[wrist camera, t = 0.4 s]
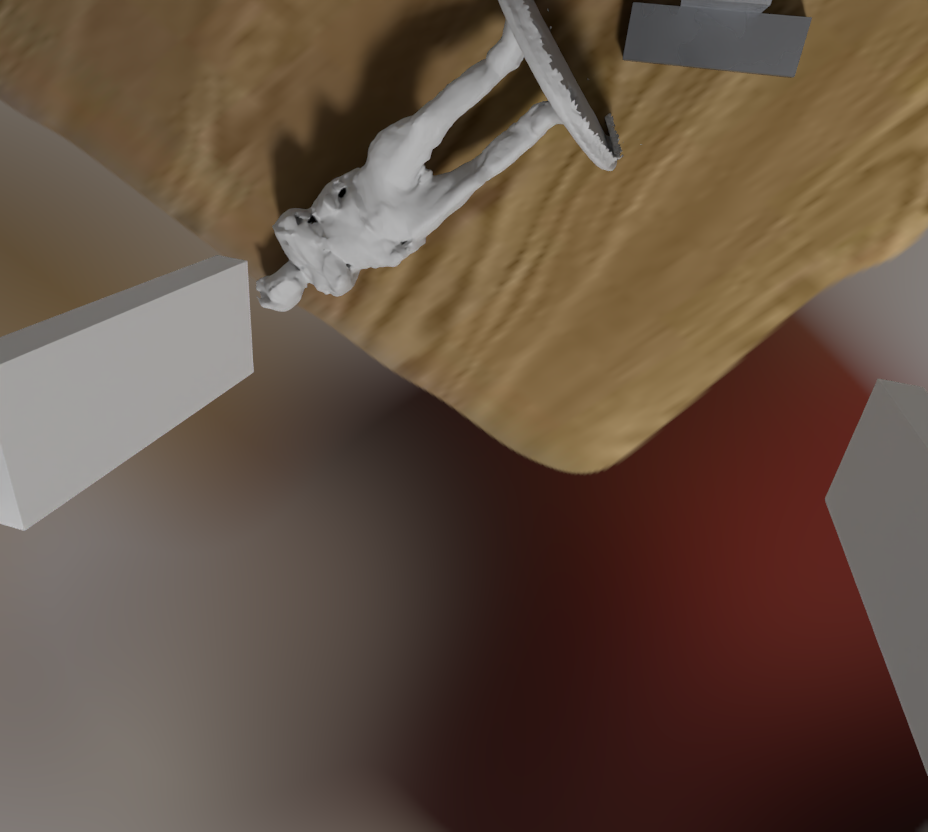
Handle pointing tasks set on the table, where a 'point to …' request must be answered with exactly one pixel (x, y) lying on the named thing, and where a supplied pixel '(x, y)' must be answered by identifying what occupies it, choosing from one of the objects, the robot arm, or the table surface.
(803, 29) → the fuse rack
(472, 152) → the table surface
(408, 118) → the male figure
